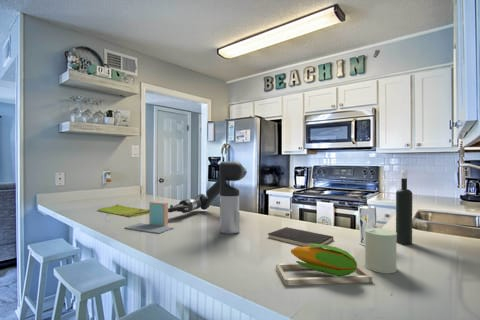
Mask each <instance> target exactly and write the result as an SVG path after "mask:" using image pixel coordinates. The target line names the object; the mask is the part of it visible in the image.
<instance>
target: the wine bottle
mask: <svg viewBox="0 0 480 320" xmlns="http://www.w3.org/2000/svg"><path fill="white" fill-rule="evenodd" d="M400 177H401V178H400V179H401V182H400V183H401V186H400V187H401V188H399V189H396V192H395V232H396V233H397V240H396V244H399V245H405V246H412V245H413V192H412V191H411V190H410V189H408V170H407V169H401V172H400Z"/></svg>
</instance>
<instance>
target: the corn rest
mask: <svg viewBox="0 0 480 320" xmlns="http://www.w3.org/2000/svg"><path fill="white" fill-rule="evenodd" d="M303 269H304V270H310V269H309V268H306V267H304V266H302V265H300V264H298V263H296V262H290V263H289V262H288V263H287V262H286V263H275V270H276V272H277V273H278V275H279V277H280V279H281V280H282V283H283V285H284V286H306V285H308V286H309V285H331V284H332V285H333V284H335V285H336V284H337V285H338V284H356V283H359V284H360V283H362V284H363V283H373V276H372V274H369V273H368V272H367V271H366V270H364V269H363V268H361V267H360V266H359V265H357V268H356V270H355V273H357V274H358V275H346V276H315V277H289V278H288V277H287V274H286V273H285V272H284V271H285V270H286V271H287V270H303Z"/></svg>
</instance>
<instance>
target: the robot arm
mask: <svg viewBox="0 0 480 320" xmlns="http://www.w3.org/2000/svg"><path fill="white" fill-rule="evenodd" d="M218 170H219V171H218V172H219V178H218V179H217V180H216V181H215V182H214V184H212V185H211V186H210V187H209V188H208V189H207V190H206V192H205V193H206V194H204V193H199V194H198V195H197V196H196V197H193V198H187V199H184V200H183V199H182V200H180V202H178V203H177V204H174V205H173V204H170V205H169V207H168V213H173V212H175V213H176V212H178V213H182V214H186V213H187V214H188V213H190V212H192V211H194V210H198V209H199V208H200V210H203V211H204V210H205V211H206V210H207V209H209V207H210V206H211V205H212V203H213V202H214V200H215V199H216V197H218V196H219V232H220V233H221V234H227V235H228V234H229V235H231V234H233V235H234V234H237V233H240V231H241V229H240V228H241V227H240V226H241V224H240V222H241V221H240V220H241V219H240V216H241V214H240V213H241V212H240V189H238V188H237V187H235V186H232V185H230V184H228V182H227V181H229V182H238V181H241V180H242V179H244V178H245V176H246V175H247V173H248V171H247V169H246V168H245V167H244V166H243V165H242V164H241V162H240V161H239V160H238V161H237V160H236V161H233V160H232V161H231V160H230V161H221V162H220V163H219V169H218Z"/></svg>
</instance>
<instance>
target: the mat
mask: <svg viewBox="0 0 480 320" xmlns="http://www.w3.org/2000/svg"><path fill="white" fill-rule="evenodd" d="M124 229H125V230H133V231H138V232H143V231H144V232H145V233H150V234H156V233H158V234H159V235H160V234H163V233H165V231H166V232H169V231H171V230H173V229H174V227H171V226H167V227H165V226H158V225H150V224H149V223H140V222H139V223H135V224H132V225H128V226H125V227H124ZM168 230H169V231H168Z"/></svg>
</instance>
